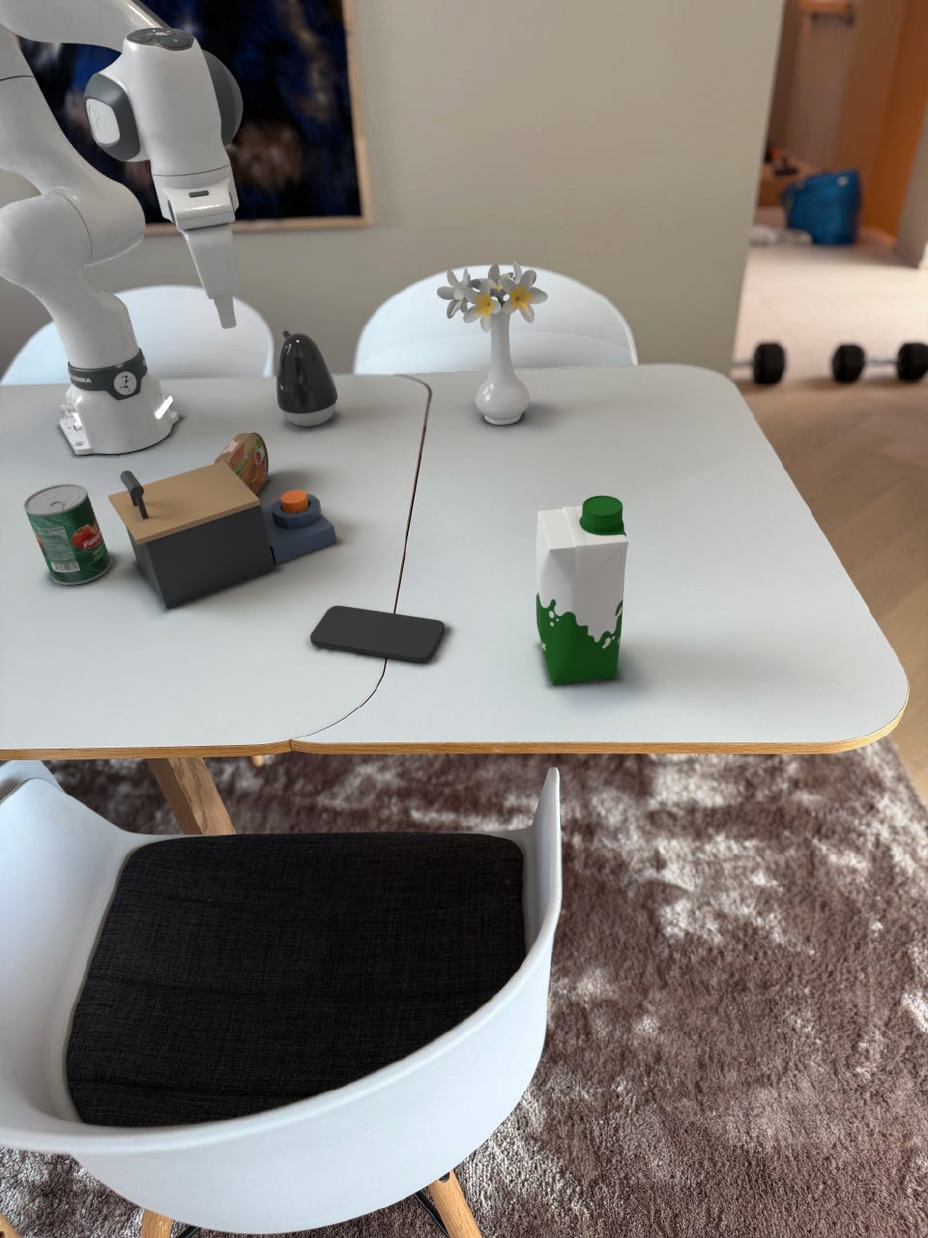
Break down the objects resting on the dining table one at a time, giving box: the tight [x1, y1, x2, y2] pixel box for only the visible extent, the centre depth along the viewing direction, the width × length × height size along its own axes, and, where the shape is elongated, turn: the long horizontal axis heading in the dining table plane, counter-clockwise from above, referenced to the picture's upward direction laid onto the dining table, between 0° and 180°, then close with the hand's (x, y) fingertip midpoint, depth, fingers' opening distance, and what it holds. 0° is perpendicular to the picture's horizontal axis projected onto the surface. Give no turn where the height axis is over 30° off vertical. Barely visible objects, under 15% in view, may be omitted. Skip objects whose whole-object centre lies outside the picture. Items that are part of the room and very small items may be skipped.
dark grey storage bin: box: [125, 504, 276, 610], centre depth 120 cm, size 15×13×10 cm
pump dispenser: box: [275, 330, 339, 427], centre depth 153 cm, size 10×10×15 cm
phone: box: [309, 605, 446, 663], centre depth 108 cm, size 7×1×15 cm
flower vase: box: [436, 260, 549, 426], centre depth 147 cm, size 13×18×25 cm
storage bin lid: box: [107, 461, 262, 545], centre depth 115 cm, size 16×13×5 cm
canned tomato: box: [23, 483, 112, 586], centre depth 121 cm, size 8×8×11 cm
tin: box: [213, 431, 270, 496], centre depth 135 cm, size 15×3×8 cm, turn 168°
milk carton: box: [535, 494, 629, 686], centre depth 96 cm, size 9×9×20 cm
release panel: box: [261, 493, 337, 565], centre depth 126 cm, size 9×11×4 cm
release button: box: [280, 489, 309, 513], centre depth 125 cm, size 4×4×2 cm
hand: (225, 315), depth 113 cm, fingers open, 8 cm apart
